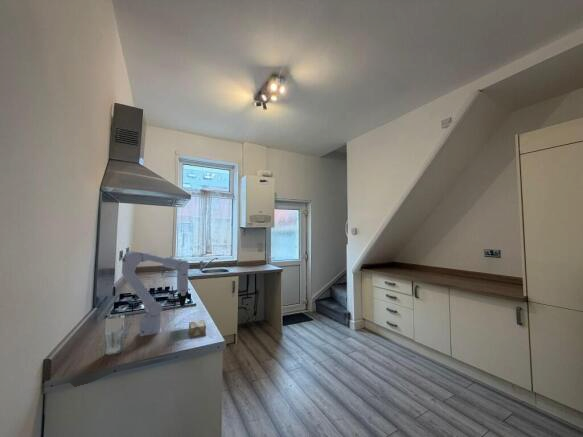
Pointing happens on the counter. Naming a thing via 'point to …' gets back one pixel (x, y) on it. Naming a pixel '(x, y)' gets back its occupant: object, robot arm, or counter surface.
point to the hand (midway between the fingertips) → (182, 305)
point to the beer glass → (114, 333)
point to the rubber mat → (182, 335)
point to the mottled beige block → (197, 328)
